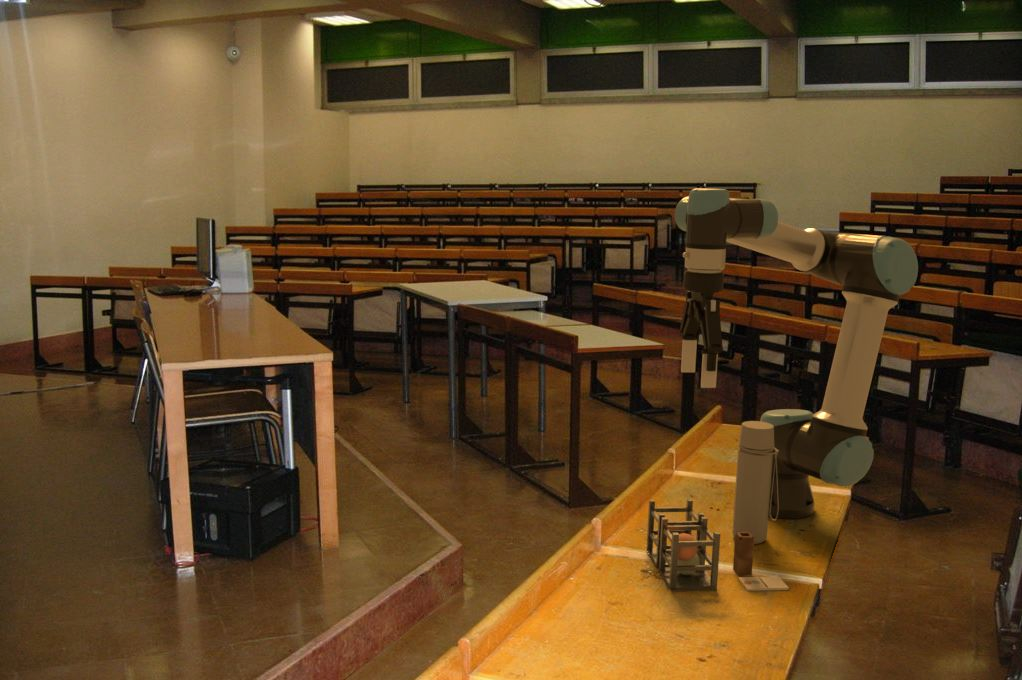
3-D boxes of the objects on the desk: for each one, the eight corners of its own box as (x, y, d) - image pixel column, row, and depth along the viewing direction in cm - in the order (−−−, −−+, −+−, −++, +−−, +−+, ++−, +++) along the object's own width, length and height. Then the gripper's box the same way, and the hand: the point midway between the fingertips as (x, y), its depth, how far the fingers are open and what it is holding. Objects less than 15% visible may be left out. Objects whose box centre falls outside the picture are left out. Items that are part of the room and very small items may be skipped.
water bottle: (729, 542, 205) (736, 427, 200) (734, 530, 212) (741, 418, 208) (774, 549, 202) (783, 432, 197) (777, 536, 209) (786, 423, 204)
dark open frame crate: (702, 570, 190) (706, 516, 188) (716, 589, 182) (720, 533, 180) (658, 571, 190) (661, 517, 188) (670, 590, 181) (673, 534, 179)
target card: (778, 578, 188) (778, 576, 187) (788, 589, 183) (788, 587, 183) (738, 579, 187) (738, 576, 187) (747, 590, 182) (747, 588, 182)
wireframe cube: (688, 550, 200) (691, 499, 198) (701, 567, 192) (704, 514, 190) (646, 551, 199) (649, 499, 197) (657, 568, 191) (660, 515, 189)
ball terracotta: (691, 525, 184) (691, 537, 179) (701, 547, 185) (702, 560, 180) (666, 533, 185) (666, 546, 181) (676, 555, 186) (677, 569, 182)
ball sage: (696, 575, 188) (694, 548, 190) (703, 574, 183) (701, 547, 185) (671, 576, 188) (669, 549, 189) (677, 574, 183) (675, 547, 184)
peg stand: (746, 568, 192) (749, 531, 190) (751, 574, 189) (754, 537, 188) (732, 568, 192) (735, 532, 190) (737, 574, 189) (740, 537, 187)
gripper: (667, 263, 198) (662, 366, 201) (704, 277, 173) (697, 394, 177) (704, 263, 198) (698, 366, 202) (745, 278, 174) (737, 394, 178)
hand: (697, 379), depth 190 cm, fingers open, 13 cm apart
